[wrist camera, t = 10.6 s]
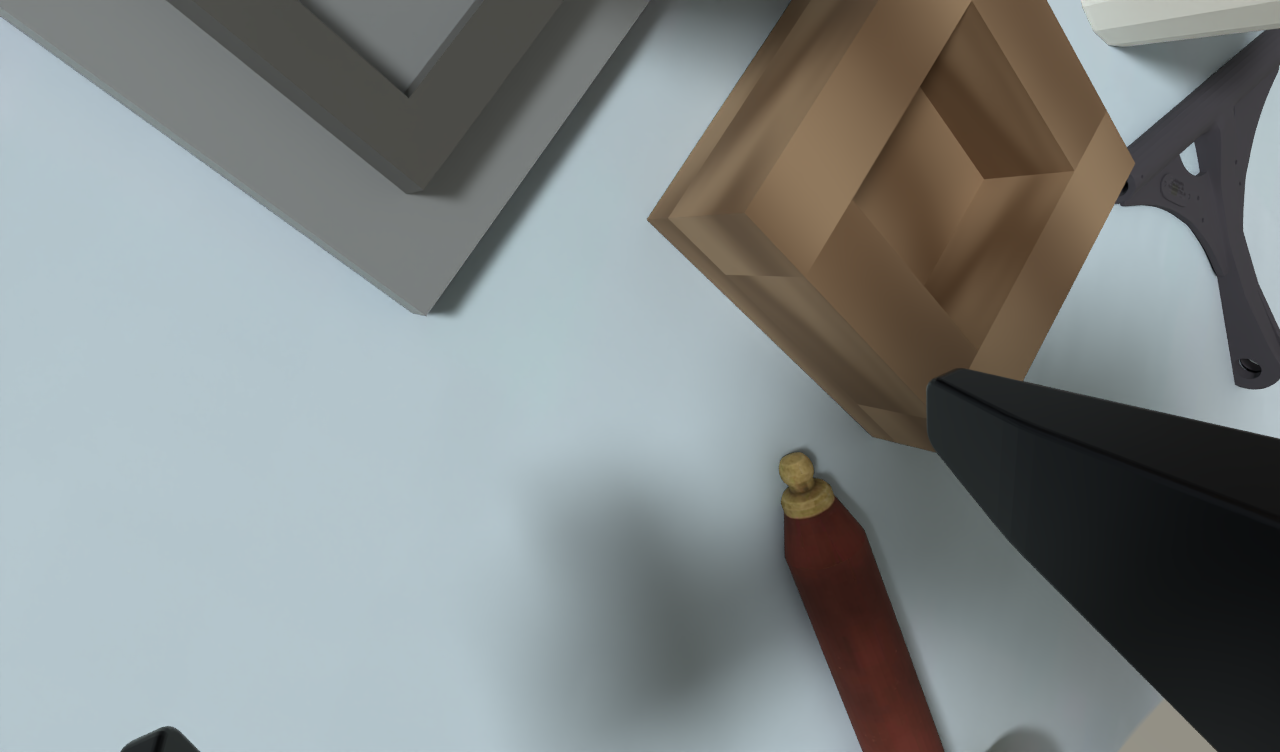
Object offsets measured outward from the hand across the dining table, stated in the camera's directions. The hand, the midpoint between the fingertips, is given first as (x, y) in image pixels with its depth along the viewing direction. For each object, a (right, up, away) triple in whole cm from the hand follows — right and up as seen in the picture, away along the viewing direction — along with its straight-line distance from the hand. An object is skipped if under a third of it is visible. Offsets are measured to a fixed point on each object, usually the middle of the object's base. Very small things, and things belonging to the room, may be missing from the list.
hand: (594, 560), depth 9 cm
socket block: (+7, +8, +16) cm, 19 cm away
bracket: (+26, +8, +29) cm, 40 cm away
